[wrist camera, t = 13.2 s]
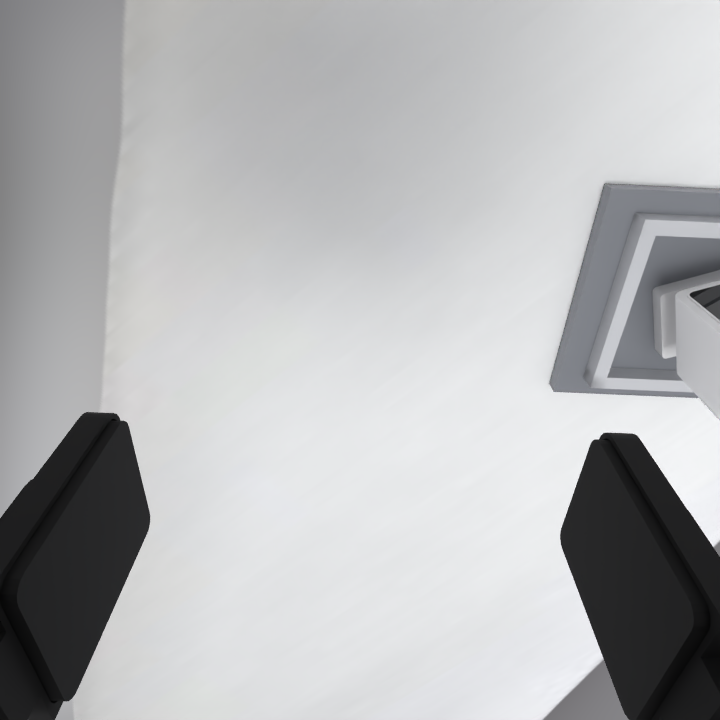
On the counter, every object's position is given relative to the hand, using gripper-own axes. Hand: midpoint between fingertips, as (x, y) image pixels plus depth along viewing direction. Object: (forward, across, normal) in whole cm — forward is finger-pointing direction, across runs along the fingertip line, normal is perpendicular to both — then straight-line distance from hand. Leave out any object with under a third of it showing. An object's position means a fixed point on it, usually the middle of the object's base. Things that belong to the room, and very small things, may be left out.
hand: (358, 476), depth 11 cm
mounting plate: (+28, -24, +8) cm, 38 cm away
